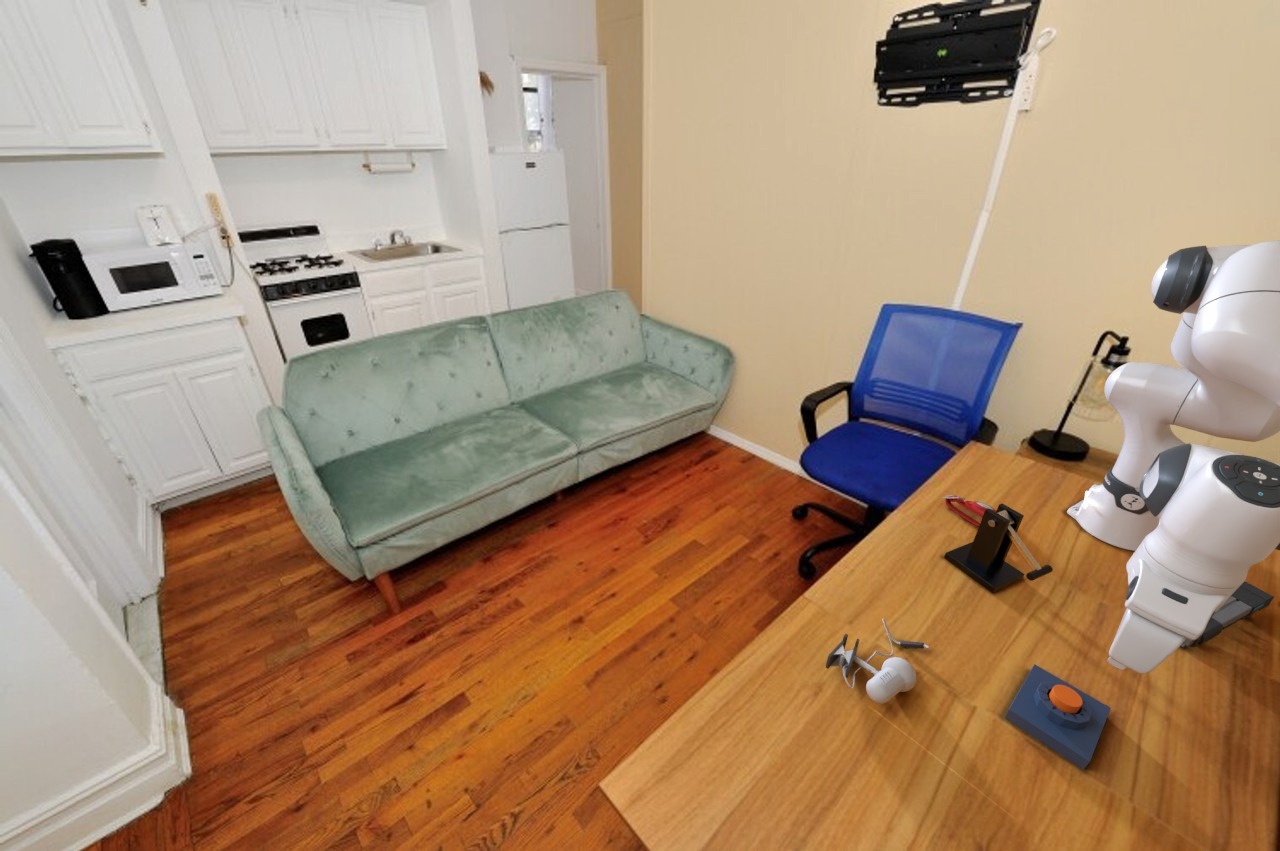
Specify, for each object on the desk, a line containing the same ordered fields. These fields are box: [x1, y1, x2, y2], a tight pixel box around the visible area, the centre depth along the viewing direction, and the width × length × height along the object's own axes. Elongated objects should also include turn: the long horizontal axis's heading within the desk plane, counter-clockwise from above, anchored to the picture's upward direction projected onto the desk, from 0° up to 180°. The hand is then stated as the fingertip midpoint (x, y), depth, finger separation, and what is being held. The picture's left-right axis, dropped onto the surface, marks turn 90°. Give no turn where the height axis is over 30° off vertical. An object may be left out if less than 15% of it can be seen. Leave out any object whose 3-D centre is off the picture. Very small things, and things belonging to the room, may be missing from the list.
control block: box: [1004, 663, 1112, 770], centre depth 77 cm, size 12×10×4 cm
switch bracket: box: [943, 503, 1026, 594], centre depth 103 cm, size 11×9×15 cm
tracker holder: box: [942, 494, 997, 527], centre depth 121 cm, size 12×4×10 cm
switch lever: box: [998, 510, 1054, 582], centre depth 98 cm, size 13×6×2 cm
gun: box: [1180, 580, 1275, 648], centre depth 91 cm, size 4×20×10 cm, turn 109°
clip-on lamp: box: [825, 617, 930, 705], centre depth 85 cm, size 12×6×18 cm
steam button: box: [1049, 685, 1083, 714], centre depth 76 cm, size 4×4×2 cm
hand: (1124, 641), depth 70 cm, fingers open, 8 cm apart
